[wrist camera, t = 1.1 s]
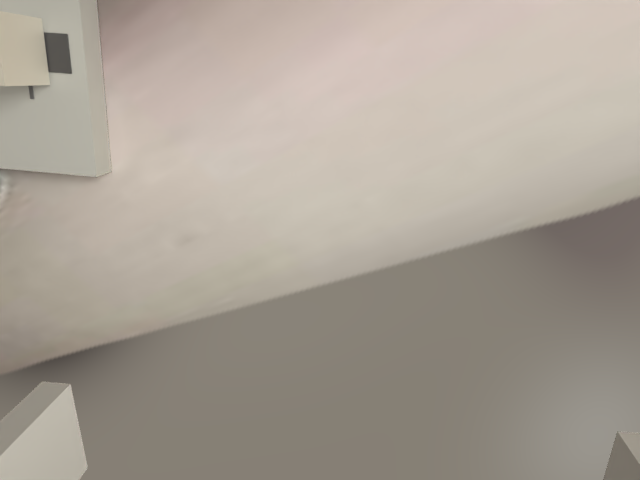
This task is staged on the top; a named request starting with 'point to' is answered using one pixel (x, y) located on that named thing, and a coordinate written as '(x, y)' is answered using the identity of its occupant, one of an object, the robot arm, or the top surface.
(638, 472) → the robot arm
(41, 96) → the console
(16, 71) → the fader
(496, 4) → the top surface
